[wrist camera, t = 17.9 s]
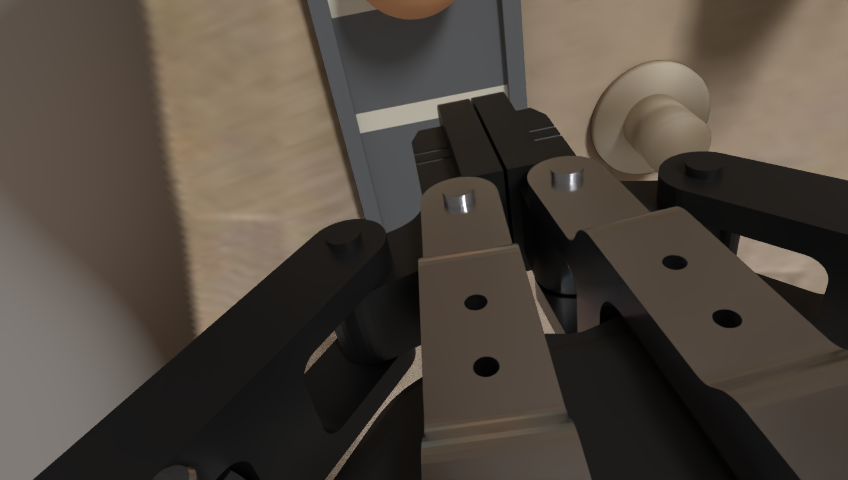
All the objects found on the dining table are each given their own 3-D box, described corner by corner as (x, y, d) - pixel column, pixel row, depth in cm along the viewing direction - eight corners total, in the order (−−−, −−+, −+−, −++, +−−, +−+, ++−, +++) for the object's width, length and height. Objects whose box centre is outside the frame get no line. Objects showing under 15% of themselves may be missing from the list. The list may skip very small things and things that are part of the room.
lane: (531, 234, 33) (545, 265, 31) (379, 264, 34) (382, 297, 31) (493, -333, 20) (513, -358, 17) (235, -280, 20) (219, -298, 17)
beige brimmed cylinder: (697, 157, 32) (732, 189, 29) (590, 178, 32) (615, 212, 29) (711, 49, 28) (753, 73, 25) (591, 72, 28) (619, 99, 25)
